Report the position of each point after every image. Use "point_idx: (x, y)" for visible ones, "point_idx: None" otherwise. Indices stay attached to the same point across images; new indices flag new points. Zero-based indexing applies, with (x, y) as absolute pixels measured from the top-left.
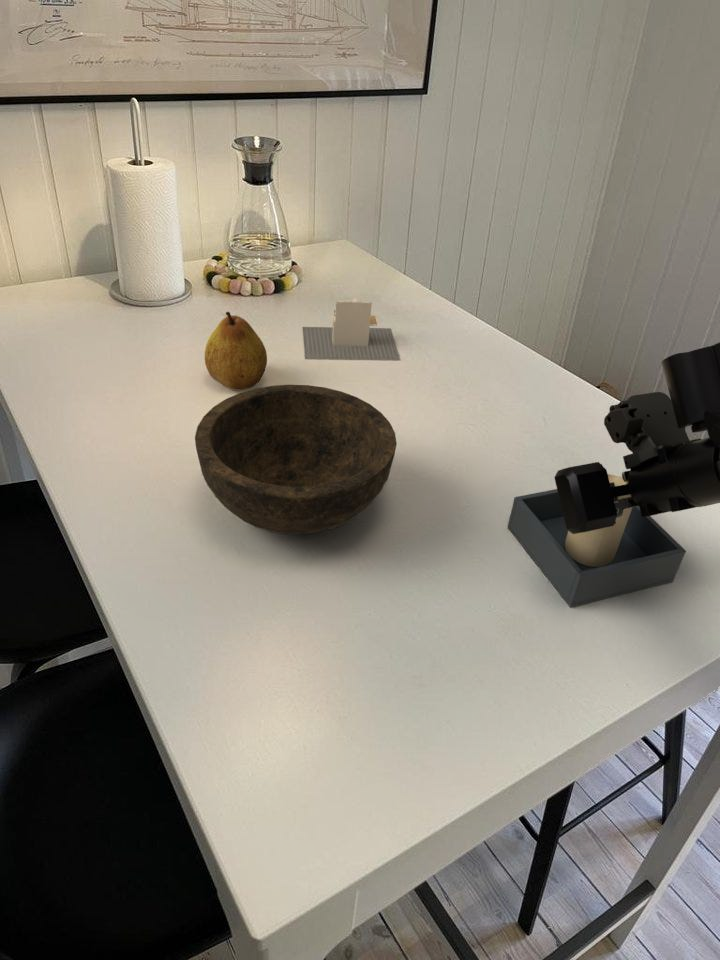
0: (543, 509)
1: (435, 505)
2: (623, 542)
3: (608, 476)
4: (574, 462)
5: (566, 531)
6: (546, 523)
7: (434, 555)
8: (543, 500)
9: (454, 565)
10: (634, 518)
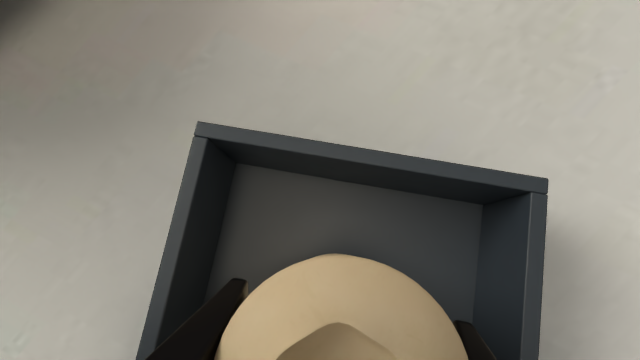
0: (300, 166)
1: (143, 31)
2: None
3: (379, 347)
4: (547, 34)
5: (336, 231)
6: (311, 187)
7: (32, 156)
8: (288, 156)
9: (45, 200)
10: (500, 333)
